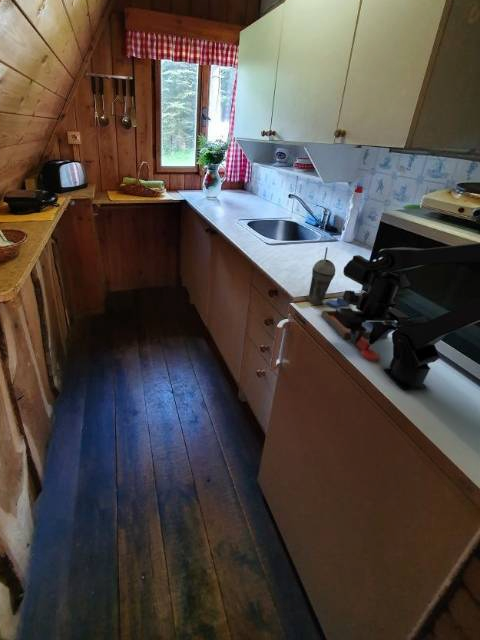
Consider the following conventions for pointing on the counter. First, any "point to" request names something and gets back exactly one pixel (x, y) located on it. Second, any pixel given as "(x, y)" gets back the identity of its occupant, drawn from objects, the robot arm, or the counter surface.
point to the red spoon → (367, 350)
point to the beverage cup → (321, 279)
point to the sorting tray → (343, 331)
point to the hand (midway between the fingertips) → (361, 343)
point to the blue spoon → (337, 302)
